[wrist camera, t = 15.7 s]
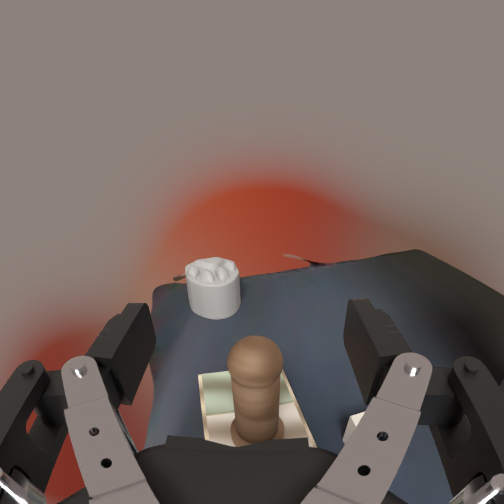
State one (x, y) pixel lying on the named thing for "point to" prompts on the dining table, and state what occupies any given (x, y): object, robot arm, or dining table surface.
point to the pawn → (255, 390)
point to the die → (351, 426)
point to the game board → (222, 412)
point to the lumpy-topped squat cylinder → (213, 287)
